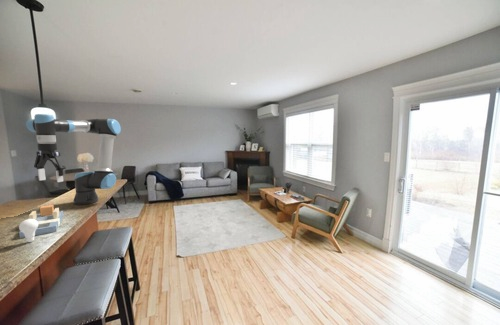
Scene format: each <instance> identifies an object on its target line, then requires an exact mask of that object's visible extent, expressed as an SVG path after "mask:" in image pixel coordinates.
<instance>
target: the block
mask: <svg viewBox="0 0 500 325" xmlns="http://www.w3.org/2000/svg"><path fill="white" fill-rule="evenodd" d="M39 209H40V211H39V212H40V213H39V214H41V217H42V216H49V215H53V211H54V210H55V208H54V204H48V205H41V206H40V207H39Z"/></svg>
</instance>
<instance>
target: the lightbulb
mask: <svg viewBox="0 0 500 325" xmlns="http://www.w3.org/2000/svg"><path fill="white" fill-rule="evenodd" d="M37 227H38V222H37V221H36V220H34V219H29V218H28V219H24V220H23V221H21V222H20V224H19V225H18V229H19V231H21V232H23V233H24V235H25V237H24V239H25V240H26V242H28V243H32V242H33V241H35V236H36V235H35V231H36V229H37Z"/></svg>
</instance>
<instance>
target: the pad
mask: <svg viewBox="0 0 500 325" xmlns="http://www.w3.org/2000/svg"><path fill="white" fill-rule="evenodd" d="M56 221H58V224H59V225H60V223H61V222H60V218H56V219H50V220H43V221H37V222H38V227H37V228H42V227H48V226H49V225H50V223H51V222H56Z"/></svg>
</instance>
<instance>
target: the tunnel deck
mask: <svg viewBox="0 0 500 325" xmlns="http://www.w3.org/2000/svg"><path fill="white" fill-rule="evenodd" d="M63 217H64V210H61V211H60V207H55V208H54V211H53V215H49V216H42V217H41V213H38V214H37V210H32V211H31V212H30V214H29V215H28V219H34V220H36V221H43V220H50V219H56V218H60V223H61V222H62V219H63ZM59 226H60V224H58V221H56V222H51V223H50V225H49V226H48V227H42V228H37V229H36V231H35V236H40V235H46V234H51V233H56V232H57V231H58V229H59ZM18 234H19V239H23V238H24V239H25V235H24V233H23V232H21V230H19V232H18Z"/></svg>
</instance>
